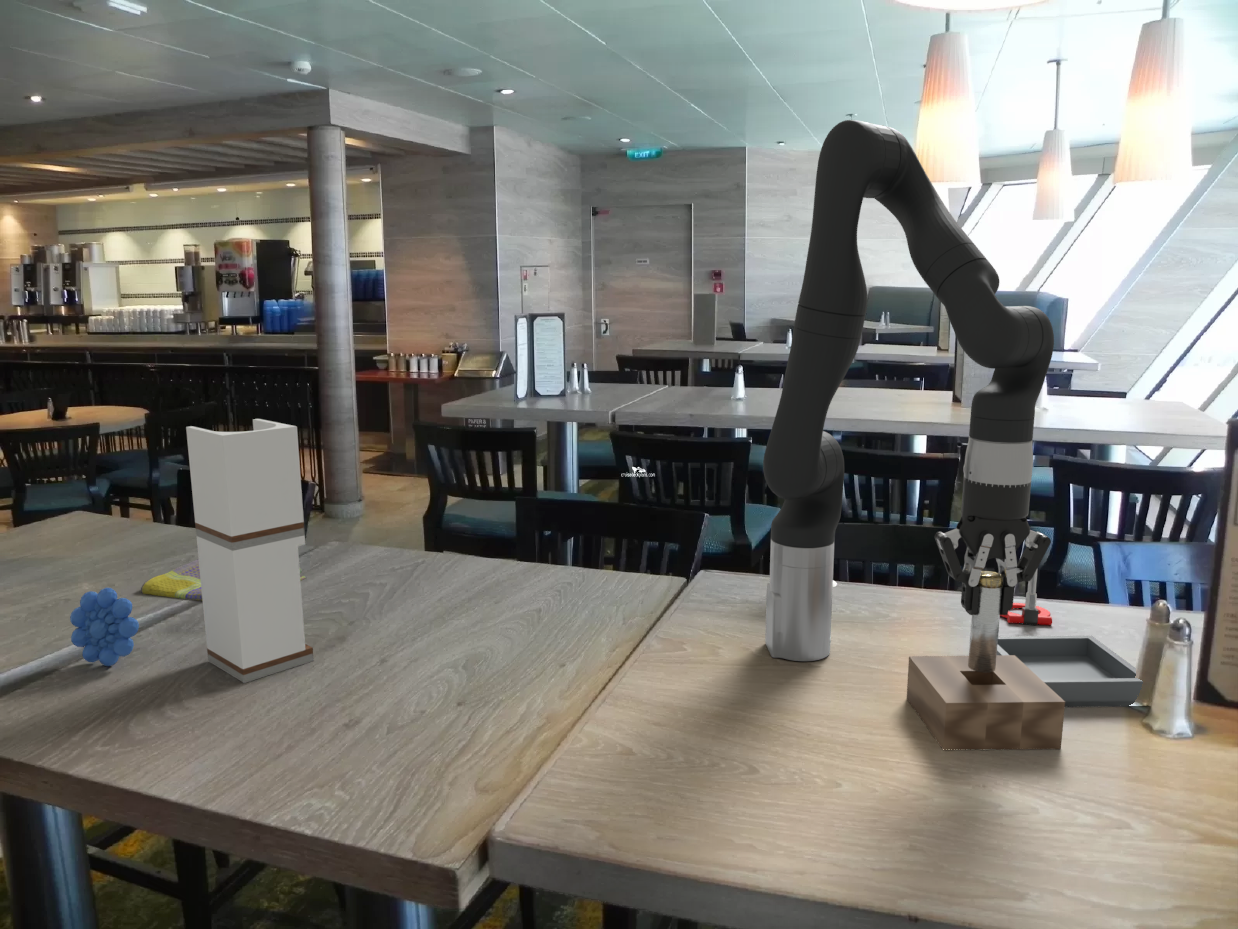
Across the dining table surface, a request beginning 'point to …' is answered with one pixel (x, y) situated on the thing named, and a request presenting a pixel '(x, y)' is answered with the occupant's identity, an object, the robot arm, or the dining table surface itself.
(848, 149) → the robot arm
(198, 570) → the dish towel
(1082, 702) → the tray
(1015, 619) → the tow hook
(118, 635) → the blue beaded flower
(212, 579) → the white open tower
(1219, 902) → the dining table surface
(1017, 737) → the block
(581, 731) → the dining table surface
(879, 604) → the dining table surface
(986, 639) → the pin
